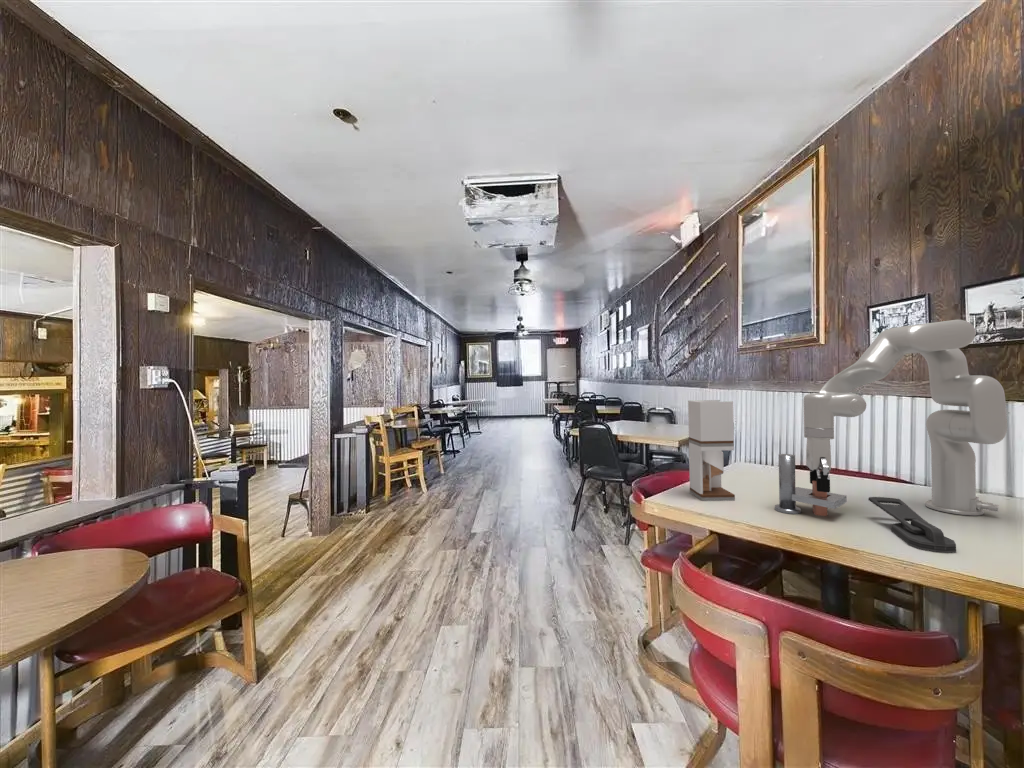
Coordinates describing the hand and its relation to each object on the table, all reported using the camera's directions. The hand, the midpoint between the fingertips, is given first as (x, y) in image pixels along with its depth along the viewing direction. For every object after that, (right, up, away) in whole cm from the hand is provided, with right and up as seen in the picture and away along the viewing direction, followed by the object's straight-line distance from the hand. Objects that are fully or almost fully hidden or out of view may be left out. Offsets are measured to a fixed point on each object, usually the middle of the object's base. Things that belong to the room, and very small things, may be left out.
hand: (819, 487), depth 127 cm
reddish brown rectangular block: (0, -8, 0) cm, 8 cm away
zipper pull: (+11, -9, -17) cm, 22 cm away
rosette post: (-2, -8, +2) cm, 9 cm away
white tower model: (-23, -9, +21) cm, 33 cm away
